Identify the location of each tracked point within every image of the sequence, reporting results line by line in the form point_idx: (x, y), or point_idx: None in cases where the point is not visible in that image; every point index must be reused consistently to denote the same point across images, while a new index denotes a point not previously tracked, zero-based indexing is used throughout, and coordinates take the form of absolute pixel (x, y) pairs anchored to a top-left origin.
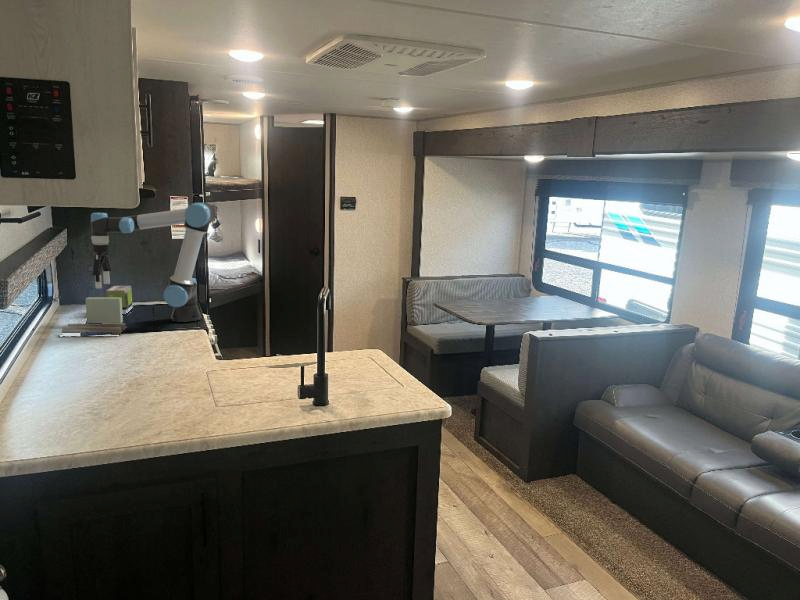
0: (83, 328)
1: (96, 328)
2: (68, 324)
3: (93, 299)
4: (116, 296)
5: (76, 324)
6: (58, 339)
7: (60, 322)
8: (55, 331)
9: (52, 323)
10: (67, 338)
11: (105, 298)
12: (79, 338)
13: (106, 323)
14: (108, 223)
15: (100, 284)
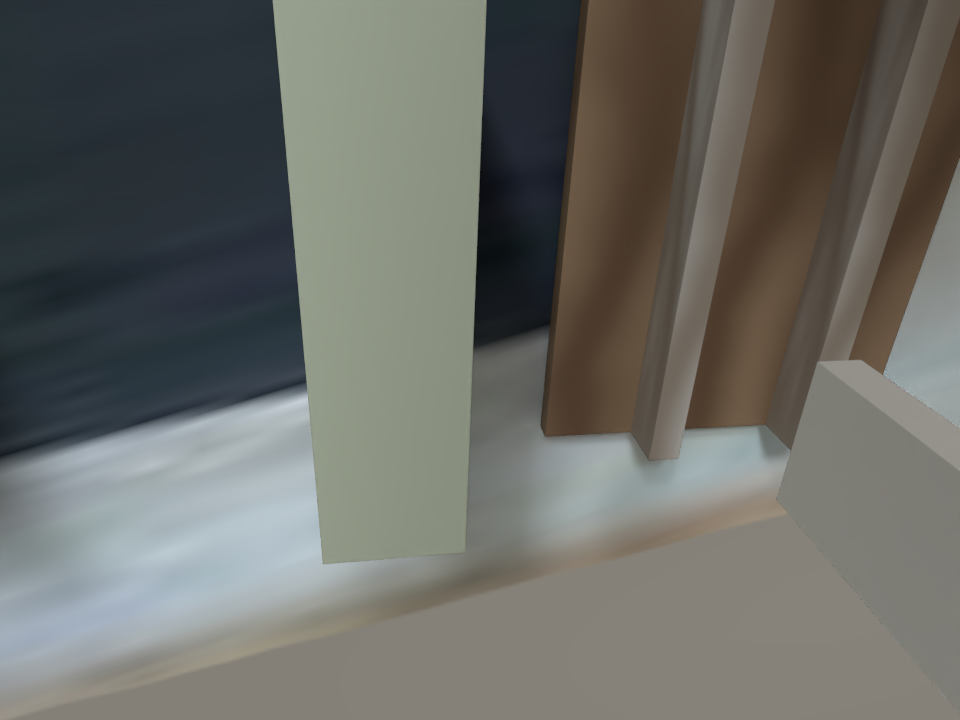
0: (871, 266)
1: (913, 130)
2: (679, 450)
3: (468, 437)
4: None
5: (693, 385)
6: (922, 386)
7: (271, 597)
8: (629, 505)
9: (316, 631)
10: (914, 334)
11: (440, 245)
12: (954, 238)
13: (722, 70)
14: None
15: (948, 443)
